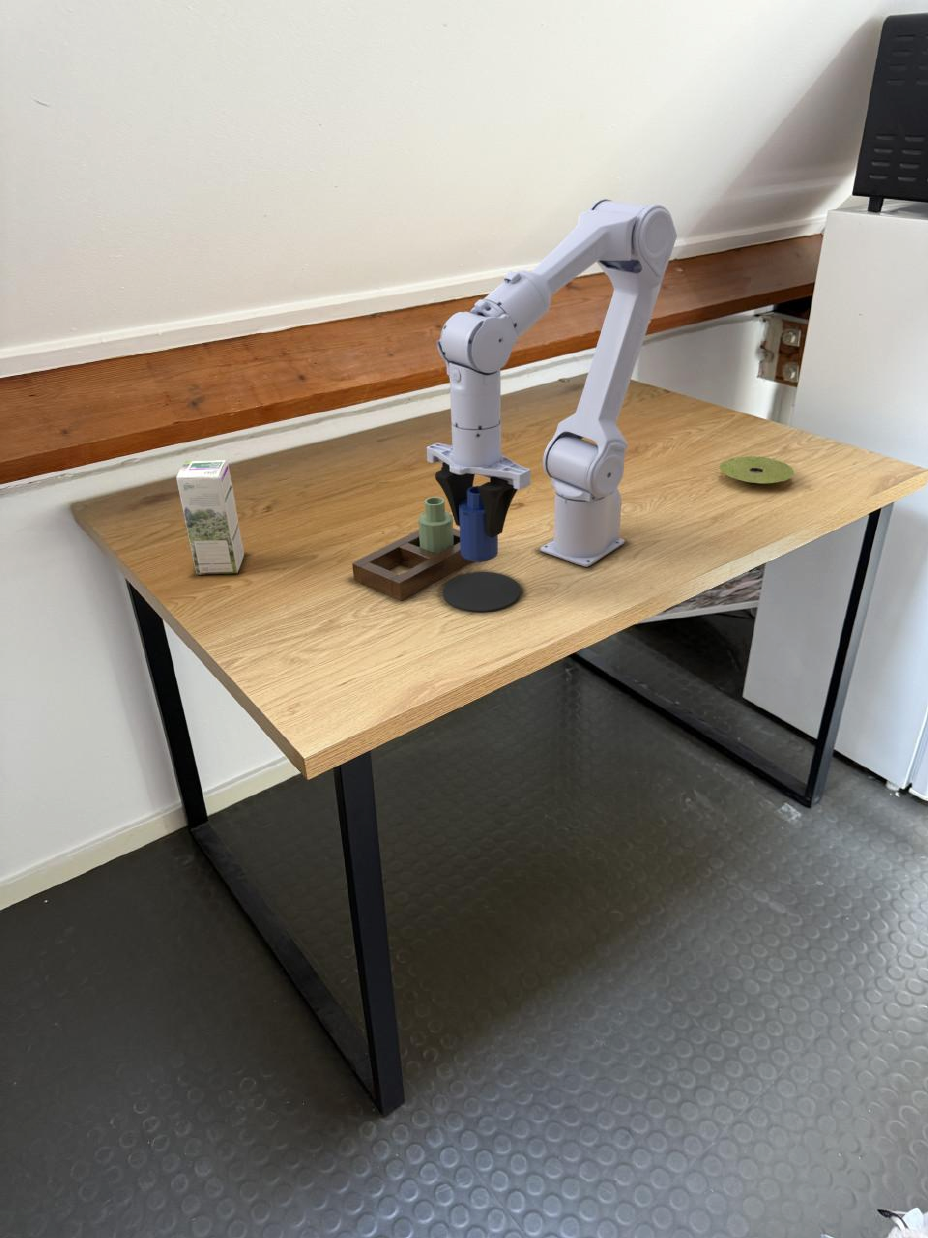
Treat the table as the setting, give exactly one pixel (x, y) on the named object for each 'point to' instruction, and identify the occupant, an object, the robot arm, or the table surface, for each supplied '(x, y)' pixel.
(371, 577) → the bottle rack
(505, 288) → the robot arm
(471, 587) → the coaster
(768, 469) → the mat
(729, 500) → the table surface
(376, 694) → the table surface
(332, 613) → the table surface
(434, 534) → the sage bottle
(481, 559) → the blue bottle
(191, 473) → the syrup box
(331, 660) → the table surface
